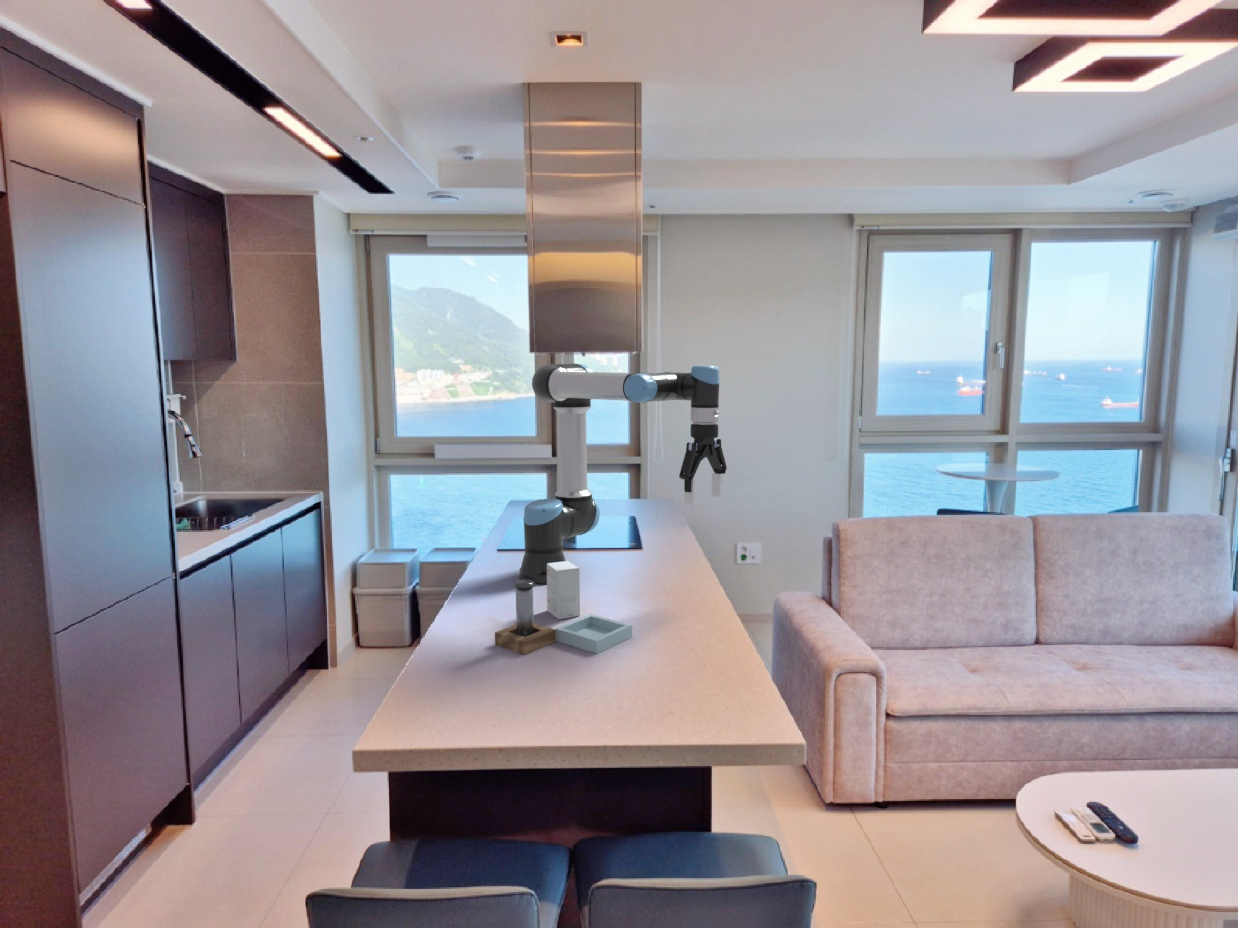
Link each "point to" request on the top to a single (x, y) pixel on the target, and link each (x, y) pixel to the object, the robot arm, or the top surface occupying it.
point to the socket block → (525, 639)
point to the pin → (524, 607)
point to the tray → (593, 633)
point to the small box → (563, 590)
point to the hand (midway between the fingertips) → (703, 500)
